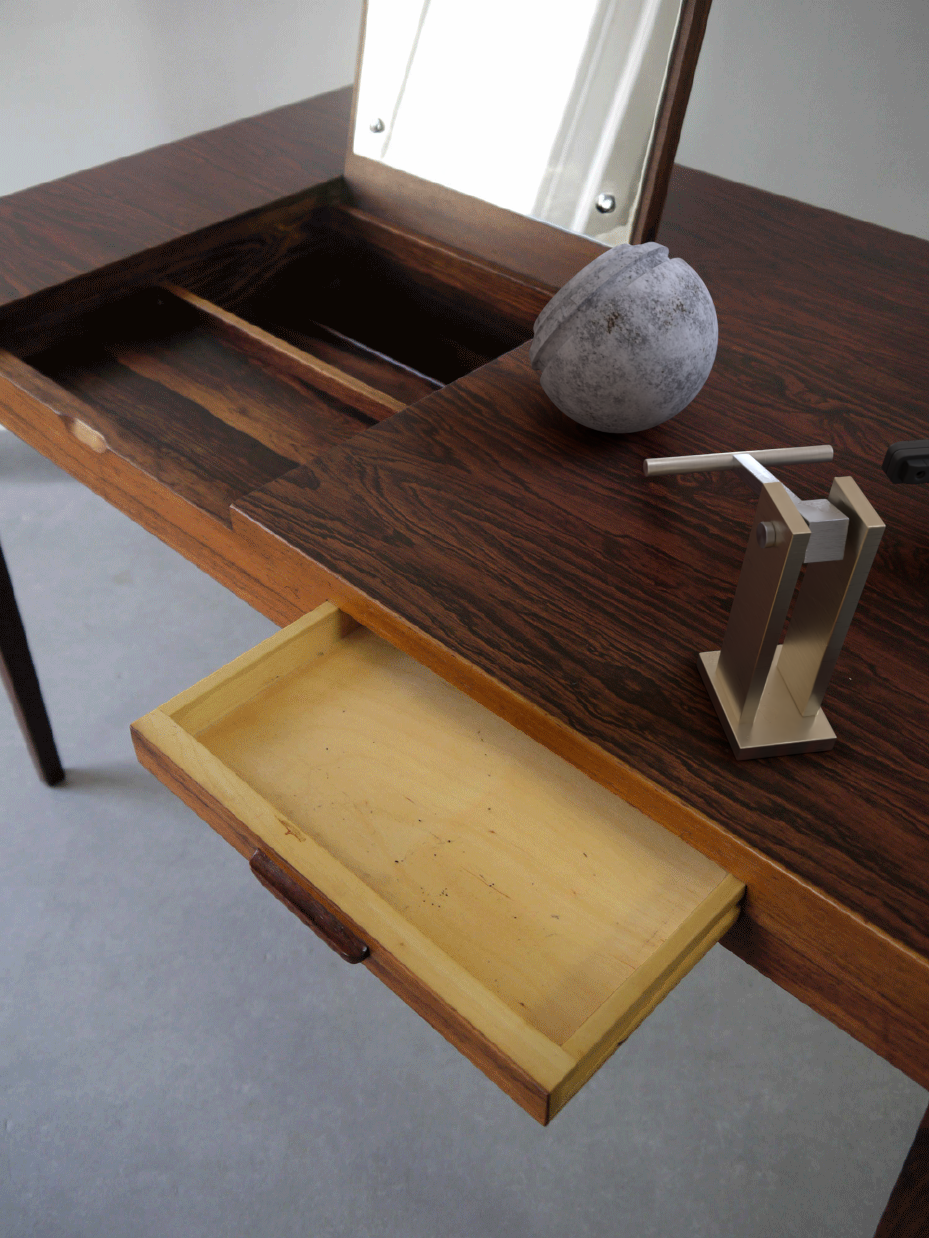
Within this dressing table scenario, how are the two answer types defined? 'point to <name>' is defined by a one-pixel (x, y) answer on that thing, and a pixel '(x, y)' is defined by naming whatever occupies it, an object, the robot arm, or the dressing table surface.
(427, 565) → the dressing table surface
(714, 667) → the bracket
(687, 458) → the tap lever
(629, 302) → the decorative orb
